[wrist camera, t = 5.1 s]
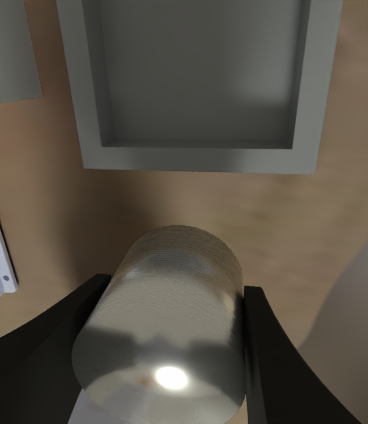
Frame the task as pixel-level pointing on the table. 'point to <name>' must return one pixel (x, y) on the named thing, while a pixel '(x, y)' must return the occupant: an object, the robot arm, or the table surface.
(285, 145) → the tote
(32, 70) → the pale upright block
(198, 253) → the metal can
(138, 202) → the table surface
